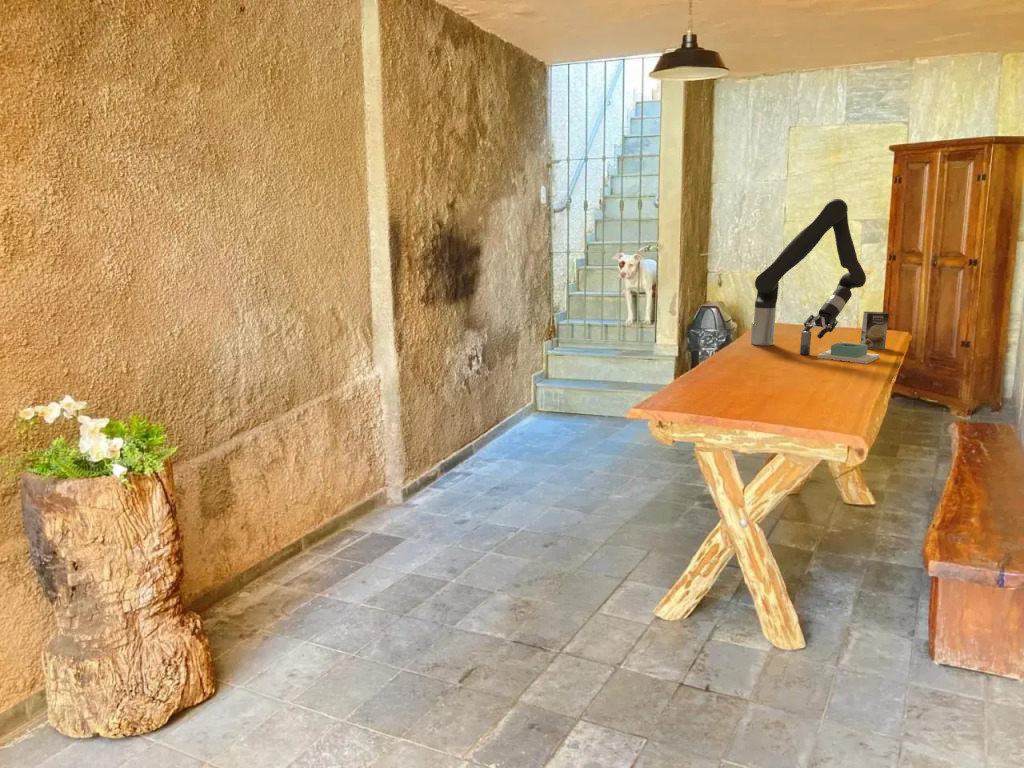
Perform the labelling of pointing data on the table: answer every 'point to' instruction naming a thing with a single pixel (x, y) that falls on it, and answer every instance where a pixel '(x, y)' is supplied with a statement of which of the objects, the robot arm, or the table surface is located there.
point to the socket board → (859, 360)
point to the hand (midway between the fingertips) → (810, 336)
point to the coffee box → (874, 329)
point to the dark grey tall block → (805, 343)
